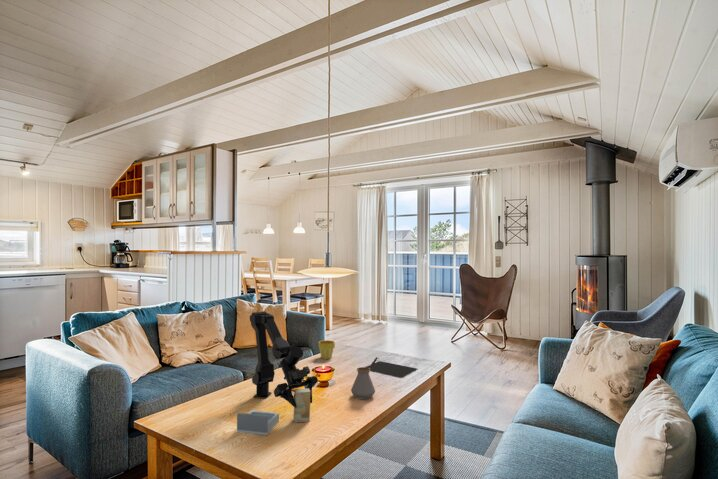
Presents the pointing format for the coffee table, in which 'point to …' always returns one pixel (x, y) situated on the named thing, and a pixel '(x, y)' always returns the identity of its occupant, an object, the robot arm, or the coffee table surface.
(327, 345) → the plant pot
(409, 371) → the tablet
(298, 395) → the skincare box
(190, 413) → the coffee table surface
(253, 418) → the seat tray
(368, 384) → the coffee pot
